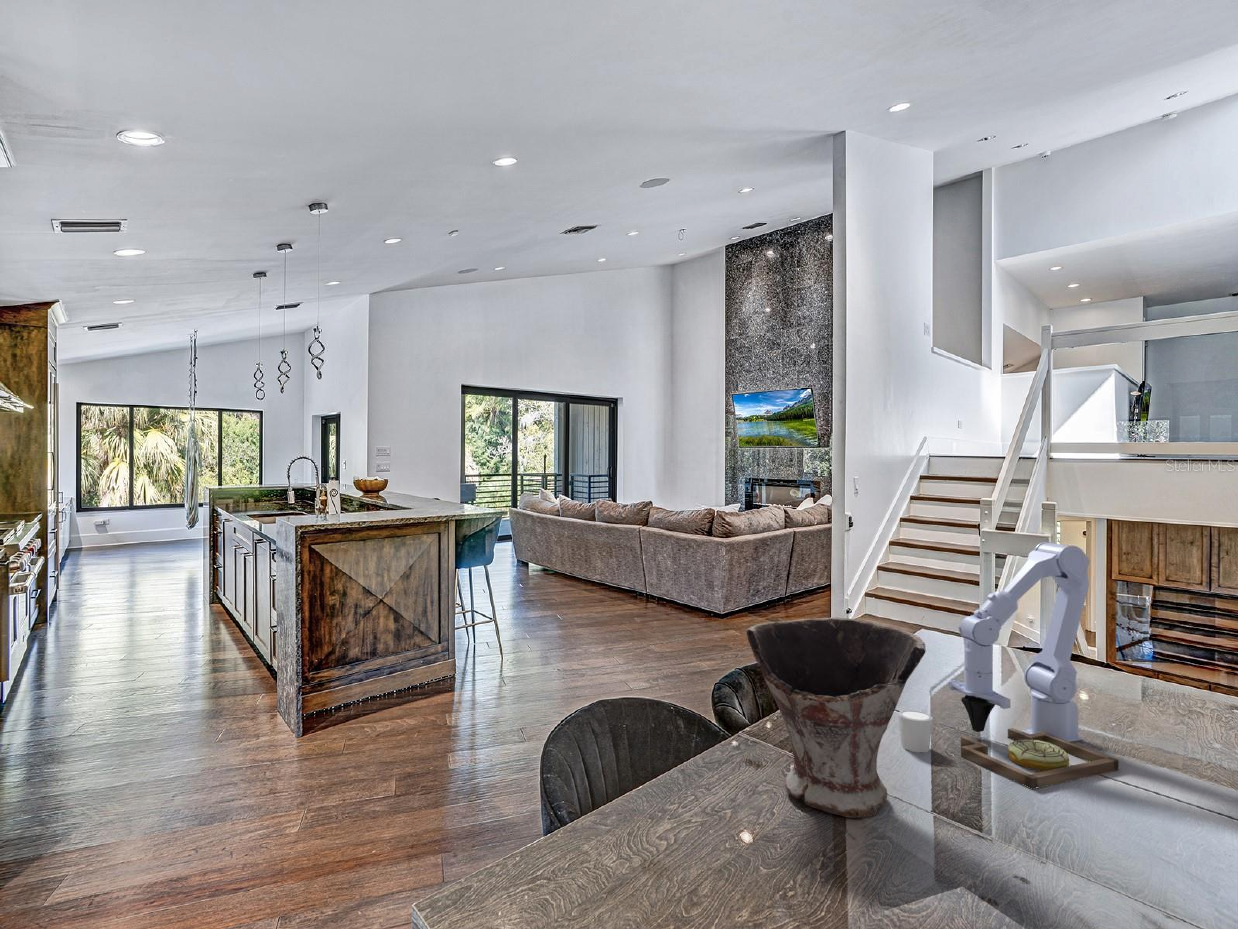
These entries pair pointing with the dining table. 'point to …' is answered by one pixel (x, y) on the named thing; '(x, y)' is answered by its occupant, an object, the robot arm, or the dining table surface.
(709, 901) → the dining table surface
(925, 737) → the white cylinder
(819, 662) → the vessel
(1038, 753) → the decorated donut
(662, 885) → the dining table surface
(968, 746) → the frame
